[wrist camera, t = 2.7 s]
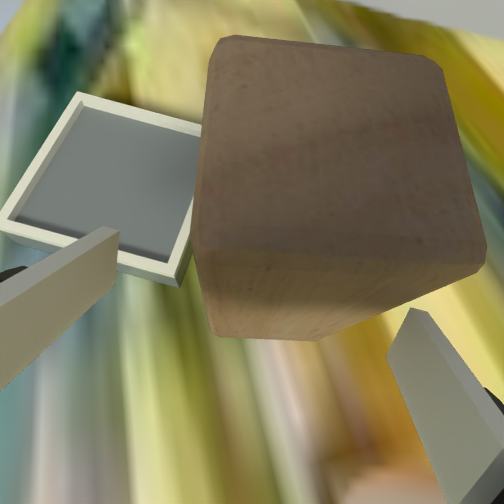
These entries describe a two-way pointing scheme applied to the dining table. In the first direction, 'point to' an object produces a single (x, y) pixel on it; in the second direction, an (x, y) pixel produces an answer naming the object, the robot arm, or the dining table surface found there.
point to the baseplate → (112, 186)
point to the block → (326, 188)
